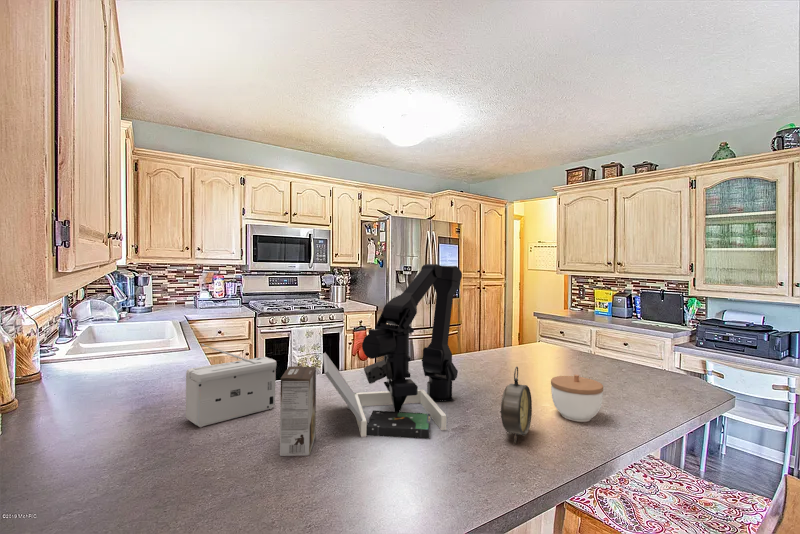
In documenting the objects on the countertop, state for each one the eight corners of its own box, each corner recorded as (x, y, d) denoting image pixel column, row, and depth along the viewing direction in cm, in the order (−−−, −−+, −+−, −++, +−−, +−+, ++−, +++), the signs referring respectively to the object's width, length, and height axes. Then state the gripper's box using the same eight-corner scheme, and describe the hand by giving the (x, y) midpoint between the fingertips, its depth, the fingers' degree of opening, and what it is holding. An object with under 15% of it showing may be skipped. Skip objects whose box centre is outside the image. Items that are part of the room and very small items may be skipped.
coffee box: (287, 437, 88) (288, 365, 88) (316, 436, 89) (317, 365, 89) (278, 456, 79) (279, 377, 79) (310, 456, 80) (311, 377, 80)
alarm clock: (520, 448, 85) (521, 373, 85) (496, 442, 88) (497, 369, 88) (532, 430, 94) (534, 363, 94) (510, 425, 97) (511, 360, 97)
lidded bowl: (598, 411, 107) (599, 371, 107) (606, 429, 95) (607, 384, 95) (549, 405, 111) (550, 367, 111) (551, 422, 99) (552, 378, 99)
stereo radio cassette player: (264, 401, 111) (265, 331, 111) (278, 409, 105) (279, 335, 105) (184, 421, 97) (185, 340, 97) (195, 431, 91) (196, 345, 91)
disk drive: (365, 438, 90) (430, 441, 89) (365, 426, 90) (430, 428, 89) (372, 420, 100) (430, 422, 99) (372, 409, 100) (430, 411, 99)
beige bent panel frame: (423, 401, 113) (423, 348, 113) (446, 430, 93) (447, 366, 93) (321, 407, 107) (322, 352, 107) (323, 439, 87) (324, 371, 87)
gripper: (362, 345, 108) (361, 401, 108) (371, 361, 89) (370, 430, 89) (401, 344, 110) (400, 399, 110) (418, 360, 92) (417, 426, 92)
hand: (396, 412), depth 100 cm, fingers closed
